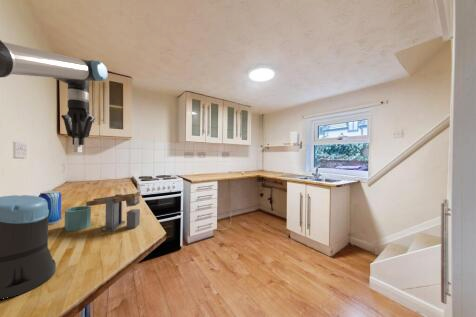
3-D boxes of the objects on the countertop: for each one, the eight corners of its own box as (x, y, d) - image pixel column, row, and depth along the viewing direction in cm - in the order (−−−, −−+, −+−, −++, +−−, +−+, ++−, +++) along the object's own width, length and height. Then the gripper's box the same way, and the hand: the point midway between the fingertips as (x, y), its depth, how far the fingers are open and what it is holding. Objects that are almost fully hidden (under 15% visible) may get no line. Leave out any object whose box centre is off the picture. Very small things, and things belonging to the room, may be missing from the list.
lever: (147, 198, 104) (146, 188, 104) (135, 205, 89) (133, 194, 89) (106, 204, 102) (105, 194, 102) (86, 212, 87) (85, 201, 87)
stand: (113, 230, 86) (113, 199, 86) (101, 231, 86) (102, 199, 86) (125, 222, 97) (125, 194, 97) (114, 222, 97) (115, 194, 96)
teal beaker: (81, 230, 86) (81, 211, 85) (59, 231, 85) (59, 211, 84) (95, 223, 95) (95, 205, 95) (75, 223, 94) (75, 206, 94)
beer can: (33, 224, 91) (33, 192, 91) (54, 219, 99) (55, 189, 99) (43, 227, 89) (44, 194, 88) (64, 221, 97) (65, 191, 96)
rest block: (135, 228, 90) (135, 212, 90) (126, 228, 90) (126, 212, 90) (139, 224, 95) (139, 209, 95) (131, 224, 95) (131, 209, 95)
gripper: (99, 104, 89) (98, 152, 90) (69, 102, 88) (69, 152, 89) (88, 99, 82) (87, 152, 82) (56, 97, 81) (55, 151, 81)
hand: (78, 152), depth 85 cm, fingers closed
